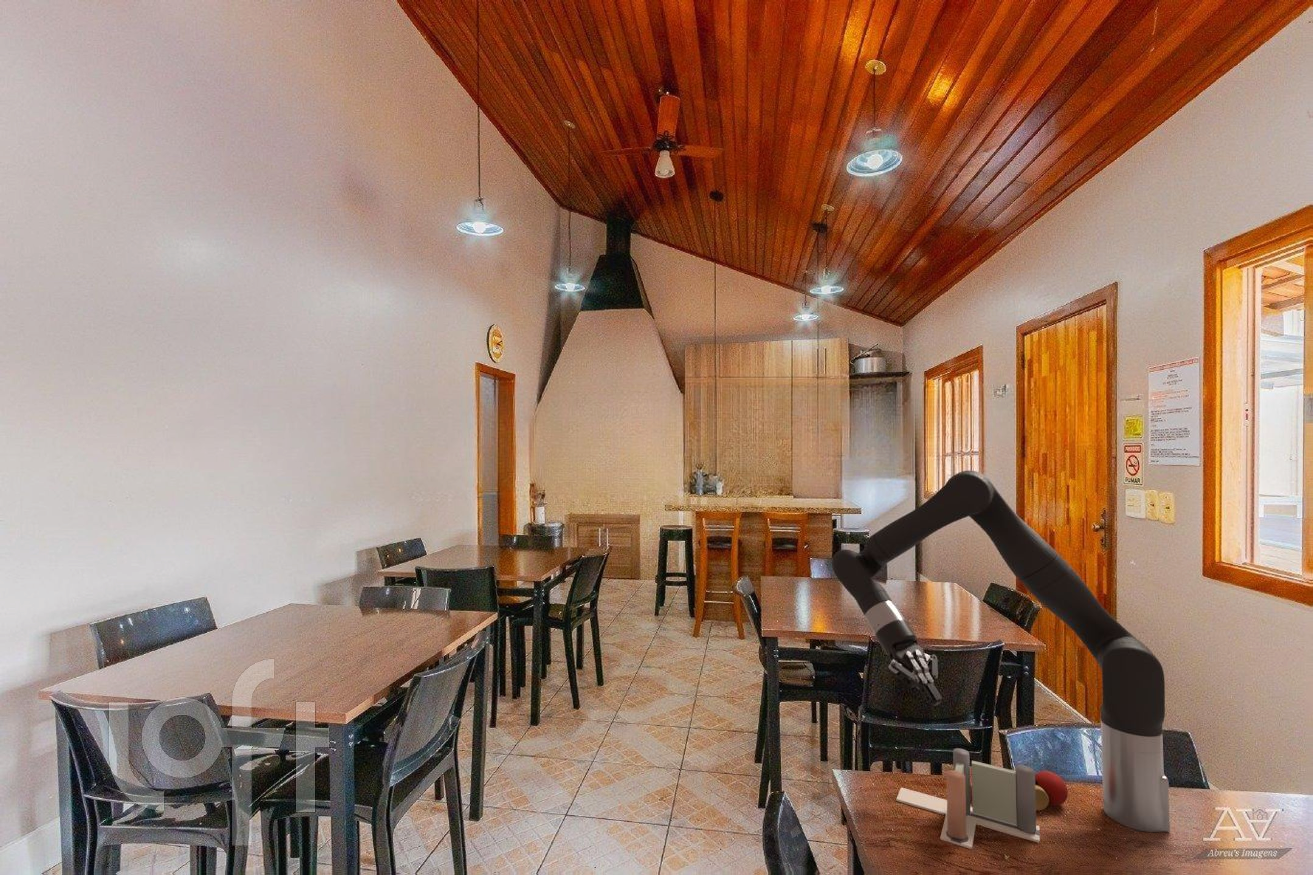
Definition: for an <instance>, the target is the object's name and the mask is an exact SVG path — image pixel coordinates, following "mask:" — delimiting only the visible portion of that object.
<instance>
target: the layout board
mask: <svg viewBox="0 0 1313 875" xmlns="http://www.w3.org/2000/svg"><path fill="white" fill-rule="evenodd" d="M895 801H896V802H900V803H902V804H905V805H909V806H912V807H915V808H920V809H923V810H926V811H929V812H932V811H933V813H935V814H941V815H943V816H945V818H944V820H943V821H944V822H943V826H942V830H941V833H940V836H939V837H940V841H944V842H948V843H950V844H954V845H957V846H960V847H962V848H966V849H969V850H973V846H974V845H973V844H974V841H975V840H974V839H975V833H976V825H977V826H980V825H981V826H980V827H984V828H986V829H991V830H993V831H994V830H995V831H997V832H1001V833H1003V834H1006V835H1007V834H1008V835H1011V836H1014V837H1017V838H1021V839H1023V840H1024V839H1025V840H1028V841H1030V842H1031V841H1032V842H1035V843H1038V844H1039V843H1041V840H1040V837H1041V835H1040V833H1041V832H1040V826H1039V825H1037V824H1036V832H1026V831H1023V830H1021V829H1020V828H1018V826H1017V825H1014V824H1011V823H1007V822H1004V821H1000V820H997V819H993V818H990V817H986V816H983V815H979V814H976V813H972V806H970V814H969V815H967V816H966V838H964V839H957V838H954V837H952V836H950V835H949V834H948V829H947V799H944V798H940V797H937V796H933V795H930V794H926V793H922V792H920V791H915V790H912V789H907V788H905V787H900V789H899V791H898V794H897V797H896V800H895ZM944 814H945V815H944Z"/></svg>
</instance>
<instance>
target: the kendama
mask: <svg viewBox="0 0 1313 875" xmlns="http://www.w3.org/2000/svg"><path fill="white" fill-rule="evenodd" d="M1012 770H1013V771H1016V767H1015V768H1013V769H1012ZM1068 792H1069V791H1068V788H1067V785H1066V783H1065V782H1064V780H1063V779H1062V778H1061V777H1060V776H1059V775H1058V774H1056V773H1054V772H1052V771H1048V770H1040V771H1038V772H1035V800H1036V811H1037V810H1039V811H1040V810H1041V811H1043V810H1045V809H1046V808H1047V807H1048V806H1052V807H1057V806H1061V805H1063V804H1064V803H1065V802H1066V801H1067V799H1068V794H1069V793H1068ZM970 798H972V782H970Z"/></svg>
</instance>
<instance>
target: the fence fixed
mask: <svg viewBox="0 0 1313 875" xmlns="http://www.w3.org/2000/svg"><path fill="white" fill-rule="evenodd" d="M952 751H953V752H952V759H953V761H952V763H953V769H952V770H954V771H955V767H956V764H957V763H961V764H964V775H965V795H966V816H967V815H969V814H970V807H972V813H976V814H979V815H983V816H986V817H990V818H993V819H997V820H1000V821H1004V822H1007V823H1011V824H1014V825H1017V826H1018V828H1020V829H1021V830H1023V831H1026V832H1036V825H1037V813H1036V812H1037V810H1036V800H1035V774H1036V772H1035V769H1033V768H1032V767H1030V766H1027V765H1022V764H1018V765H1016V766H1015V768H1016V771H1013V769H1008V768H1005V767H1004V768H1003V767H1000V766H997V765H993V764H992V765H991V764H988V763H983V762H980V761H975V760H971V763H970V752H969V751H968V750H966V749H964V748H953V749H952ZM970 764H971V767H970ZM970 770H971V771H970ZM970 772H971V773H970ZM970 783H972V797H971V796H970ZM971 801H972V803H971ZM971 805H972V806H971Z"/></svg>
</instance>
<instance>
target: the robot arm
mask: <svg viewBox="0 0 1313 875" xmlns="http://www.w3.org/2000/svg"><path fill="white" fill-rule="evenodd" d="M967 517H970V519H972V520H973V521H974V523H976V524H977V525H978V526H979V528H981V529H982V531H984V532H985V534H986V535H987V537H989V538H990V540H991V542H992V543H993V545H994V546H995V548H996V549H997V551H998V553H999V555H1000V557H1002V559H1003V560H1004V562H1005V563H1006V565H1007V567H1008V568H1009V570H1010V571H1011V572H1012V573H1013V575H1014V576H1015V578H1016V579H1017V580H1018V581H1019V582H1020V583H1021V584H1022V585H1023V586H1024V587H1025V588H1026V589H1027V591H1029V593H1030V594H1031V595H1032V596H1033V597H1034V598H1036V600H1037V601H1038V602H1040V603H1041V604H1042V605H1043V606H1044V607H1045V608H1046V609H1048V610H1049V611H1050V612H1051V613H1052V614H1054V615H1055V616H1056V617H1057V618H1058V619H1060V620H1061V621H1062V622H1063V623H1064V624H1066V625H1067V626H1068V627H1069V628H1070V629H1071V630H1072V631H1073V633H1074V634H1075V635H1076V636H1077V637H1078V638H1079V639H1080V641H1081V642H1082V643H1083V645H1084V646H1085V647H1086V648H1087V650H1088V652H1090V654H1091V655H1092V657H1093V658H1094V660H1095V661H1096V662H1097V664H1098V667H1099V668H1100V669H1101V676H1102V677H1101V680H1102V681H1101V682H1102V685H1101V687H1102V688H1101V689H1102V702H1101V706H1100V731H1101V732H1100V735H1101V736H1100V737H1101V738H1100V739H1101V740H1100V741H1101V771H1102V772H1101V774H1102V775H1101V776H1102V807H1103V812H1104V813H1105V814H1106V816H1108V817H1109V818H1110V819H1112V820H1113V821H1115V822H1117V823H1118V824H1121V825H1123V826H1124V827H1128V828H1131V829H1133V830H1137V831H1141V832H1147V833H1159V832H1168V833H1170V832H1171V821H1170V818H1171V816H1170V792H1169V791H1170V789H1169V788H1170V787H1169V786H1170V785H1169V778H1168V777H1167V776H1166V775H1165V772H1164V744H1163V743H1164V742H1163V741H1164V740H1163V739H1164V738H1163V723H1164V722H1165V715H1166V714H1165V713H1166V708H1165V707H1166V692H1165V690H1166V689H1165V688H1166V686H1165V684H1166V683H1165V682H1166V681H1165V673H1164V668H1163V666H1162V664H1161V662H1160V661H1159V659H1158V658H1157V656H1156V655H1155V654H1154V653H1153V652H1152V650H1151V649H1150V648H1149V647H1148V646H1146V645H1145V643H1143V642H1141V641H1140V640H1139V639H1137V638H1136V636H1134V635H1133V634H1132V633H1131V632H1129V631H1128V630H1127V629H1126V628H1125V627H1124V626H1123V625H1121V623H1119V622H1118V621H1117V620H1116V619H1115V618H1114V617H1113V616H1112V615H1110V613H1109V612H1108V611H1107V610H1106V609H1105V608H1104V607H1103V606H1102V605H1101V603H1100V602H1099V601H1098V600H1097V598H1096V597H1095V595H1094V594H1093V593H1092V591H1091V590H1090V588H1089V587H1088V586H1087V584H1086V583H1085V582H1084V581H1083V580H1082V578H1081V576H1079V575H1078V573H1077V572H1076V571H1075V570H1074V568H1072V566H1071V565H1070V564H1069V563H1068V562H1067V561H1066V560H1065V559H1064V558H1063V557H1062V556H1061V554H1059V553H1058V551H1056V550H1055V549H1054V548H1053V547H1052V546H1051V545H1050V544H1049V543H1048V542H1047V541H1046V540H1045V539H1044V538H1042V536H1041V535H1040V534H1038V533H1037V532H1036V531H1035V530H1034V529H1033V528H1032V527H1031V526H1029V524H1027V522H1025V521H1024V520H1023V519H1022V518H1020V516H1019V515H1018V514H1017V513H1016V512H1015V511H1014V510H1013V509H1012V507H1011V506H1010V505H1009V504H1008V502H1007V501H1006V500H1005V499H1004V498H1003V496H1002V495H1001V493H999V490H998V489H997V488H996V486H994V484H993V483H992V482H991V480H990V478H988V476H986V475H985V474H983V473H982V472H979V471H975V470H962V471H959V472H958V473H955V474H954V475H952V476H950V478H948V480H947V482H946V483H945V484H944V485H943V486H942V487H941V488H940V489H938V491H937V492H936V493H934V495H933V496H931V497H930V498H929V499H928V500H927V501H925V502H924V503H923V504H921V505H920V506H918V507H917V508H915V509H913V510H912V511H910V512H908V513H907V514H905V515H903V516H901V517H899V518H897V519H895V520H894V521H893V522H891V523H888V524H887V525H885V526H884V527H883V528H881V529H879V530H878V531H876V532H874V534H871V535H870V536H869V537H867V539H866V542H865V547H864V549H862V550H861V551H859V552H856V551H854V550H851V549H840V550H839V551H836V553H835V554H834V555H833V556H832V560H831V565H832V570H833V573H834V575H835V577H836V578H837V580H838V581H839V582H840V583H841V585H843V587H844V588H845V590H847V592H848V593H849V594H850V595H851V596H852V597H853V599H854V600H855V601H856V603H857V605H858V607H859V609H860V610H861V611H862V613H863V615H864V617H865V619H866V621H867V624H868V626H869V627H870V629H871V631H872V632H873V635H874V636H875V638H876V639H877V641H878V644H879V645H880V646H881V648H882V650H883V651H884V653H885V654H886V655H889V656H888V657H889V660H890V664H889V665H888V666H887V667H886V670H887V672H888V673H890V674H891V675H893V676H894V677H895V678H897V679H898V680H899V681H901V682H902V683H903V684H904V685H906V686H908V687H909V688H916V689H918V690H919V691H920V692H921V694H922V695H923V698H924V699H925V701H926V702H927V703H928V704H929V705H930V706H931V707H934V706H938V705H940V703H942V702H943V697H942V695H941V694H940V692H939V691H938V689H937V687H936V686H935V684H934V682H935V680H937V679H938V678H939V670H938V665H939V664H938V656H937V655H936V654H934V653H932V654H931V655H930V654H927V653H925V650H924V649H923V647H921V646H920V645H919V644H918V637H917V635H916V634H915V632H914V630H913V629H912V627H911V626H910V624H909V623H908V621H907V619H906V618H905V617H904V615H903V614H902V612H901V611H900V609H899V608H898V607H897V606H896V605H895V603H894V602H893V600H892V599H891V597H890V596H889V594H888V593H887V590H886V589H885V588H884V587H883V586H882V584H880V583H879V582H878V581H877V580H875V579H874V577H875V576H877V574H878V573H880V571H881V570H883V568H885V566H886V565H887V564H888V563H889V562H891V561H893V560H895V559H896V558H898V557H899V556H901V555H902V554H904V553H906V552H907V551H909V550H911V549H912V548H913V547H915V546H916V545H918V544H920V543H921V542H922V541H923V540H925V539H926V538H928V537H929V536H931V535H932V534H934V533H935V532H937V531H939V530H941V529H943V528H945V527H947V526H948V525H951V524H952V523H956V522H957V521H960V520H962V519H965V518H967Z"/></svg>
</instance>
